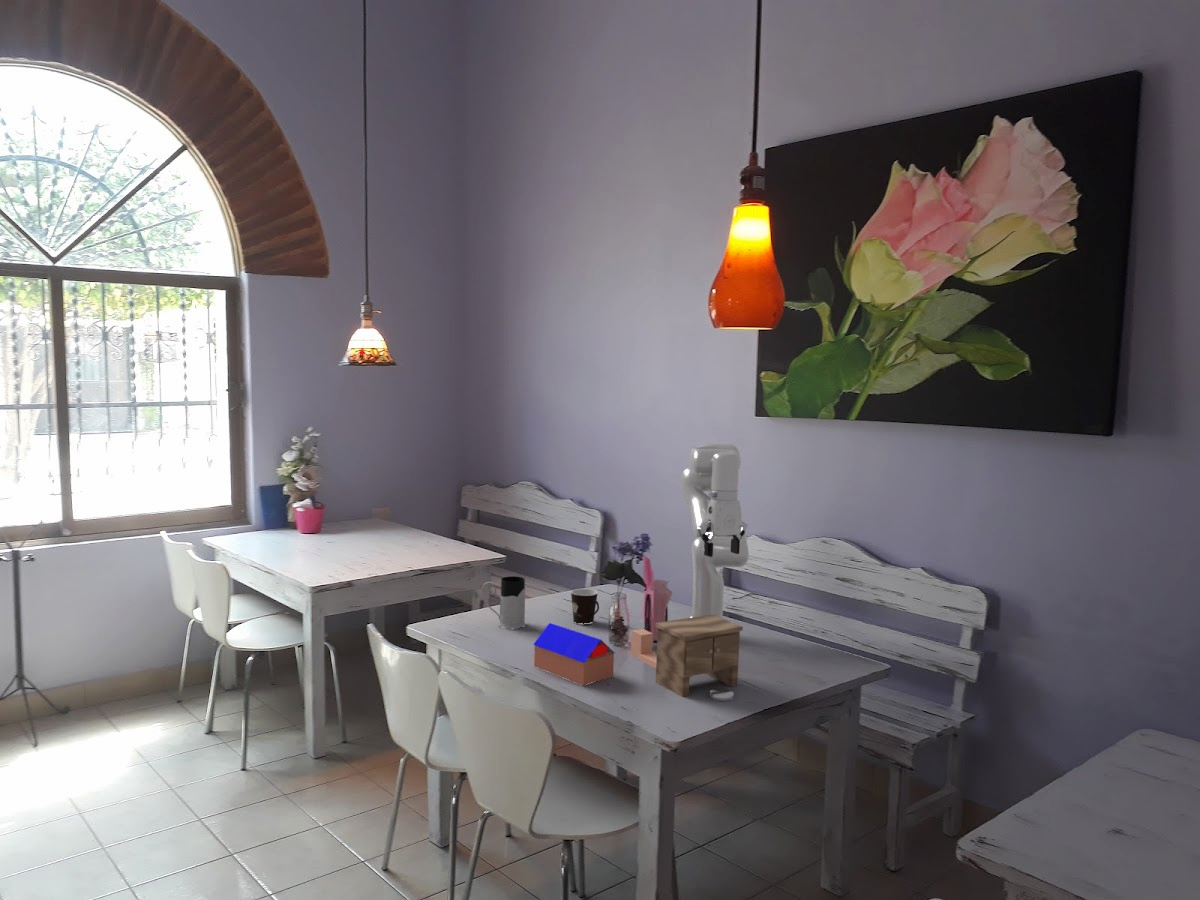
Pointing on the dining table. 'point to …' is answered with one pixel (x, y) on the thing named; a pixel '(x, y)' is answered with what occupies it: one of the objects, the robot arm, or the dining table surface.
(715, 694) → the steel disc
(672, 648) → the cabinet
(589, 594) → the coffee mug
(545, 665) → the house
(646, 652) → the tan stepped beam
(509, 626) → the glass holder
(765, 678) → the dining table surface
